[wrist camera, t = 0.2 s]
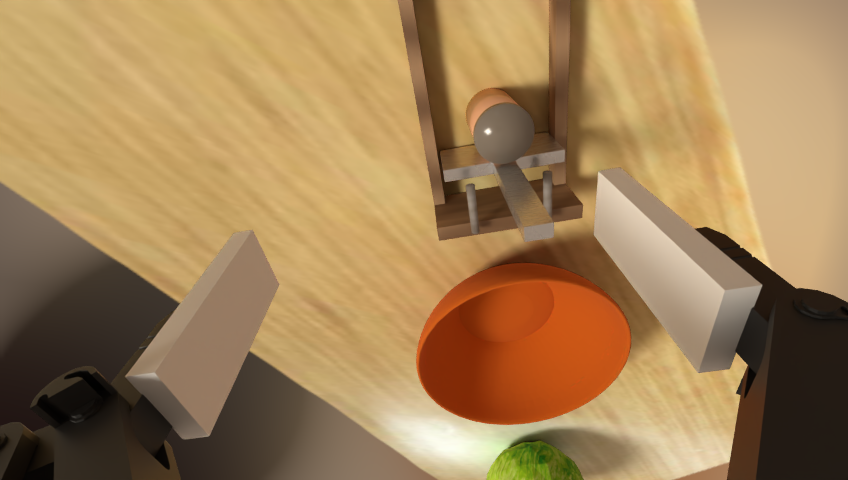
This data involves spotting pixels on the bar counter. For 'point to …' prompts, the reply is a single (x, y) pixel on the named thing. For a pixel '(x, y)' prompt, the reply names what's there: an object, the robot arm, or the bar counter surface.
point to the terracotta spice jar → (499, 126)
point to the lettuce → (533, 464)
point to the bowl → (521, 345)
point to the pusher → (511, 181)
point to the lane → (489, 205)
